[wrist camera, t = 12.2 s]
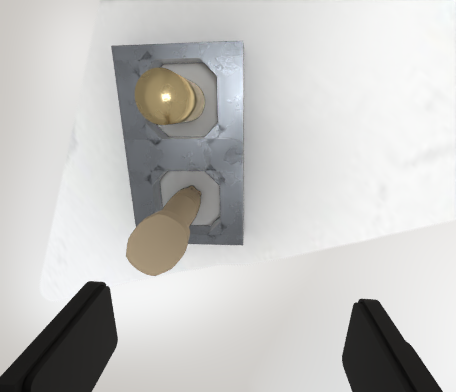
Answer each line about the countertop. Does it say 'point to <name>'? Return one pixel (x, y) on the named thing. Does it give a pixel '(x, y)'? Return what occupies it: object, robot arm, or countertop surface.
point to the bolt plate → (186, 146)
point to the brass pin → (168, 97)
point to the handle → (164, 234)
